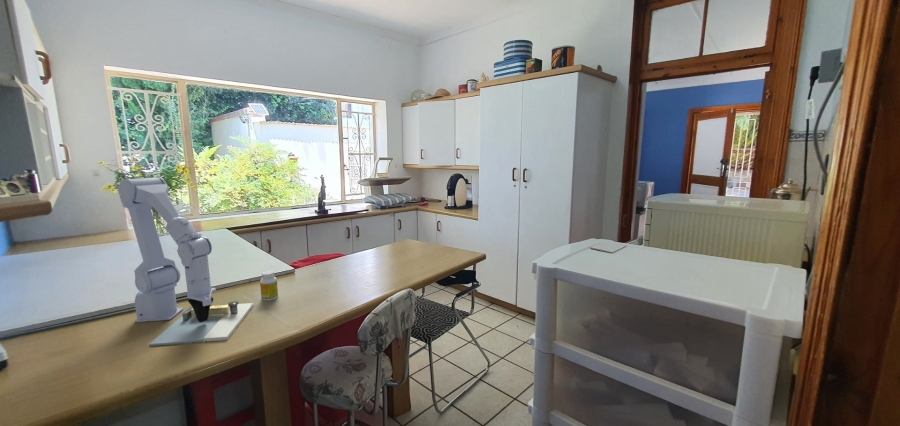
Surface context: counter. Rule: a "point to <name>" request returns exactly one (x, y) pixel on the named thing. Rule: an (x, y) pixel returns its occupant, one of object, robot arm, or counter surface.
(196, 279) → the robot arm
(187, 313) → the keeper
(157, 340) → the door panel
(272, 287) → the supplement bottle
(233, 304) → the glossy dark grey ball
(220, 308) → the swing bar
